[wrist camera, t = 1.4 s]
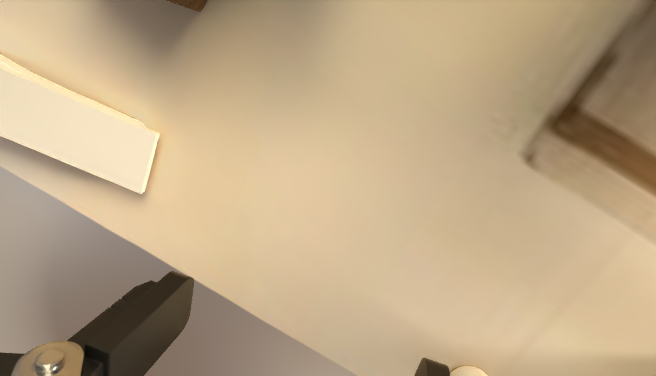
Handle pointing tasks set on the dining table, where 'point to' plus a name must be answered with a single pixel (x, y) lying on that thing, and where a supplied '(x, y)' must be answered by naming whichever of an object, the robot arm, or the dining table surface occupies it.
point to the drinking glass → (467, 371)
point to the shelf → (190, 3)
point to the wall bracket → (74, 128)
